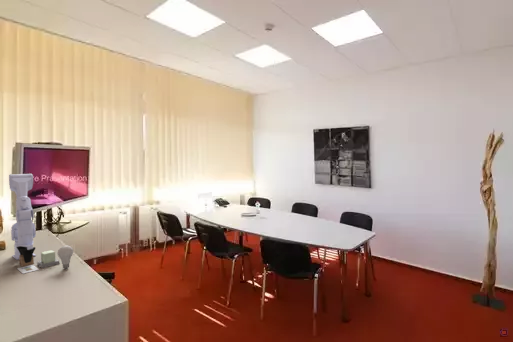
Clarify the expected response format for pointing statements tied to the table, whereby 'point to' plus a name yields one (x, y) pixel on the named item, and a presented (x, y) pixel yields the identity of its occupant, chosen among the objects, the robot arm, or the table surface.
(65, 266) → the lightbulb
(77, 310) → the table surface
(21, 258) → the block
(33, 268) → the blueprint sheet
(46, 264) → the slab
